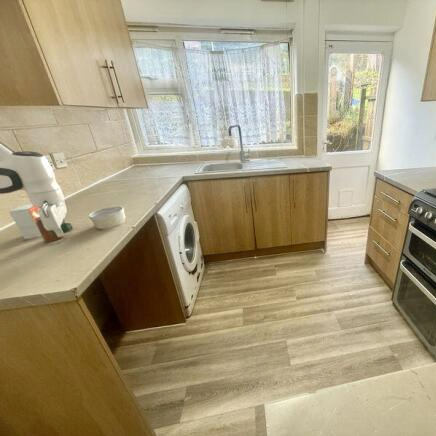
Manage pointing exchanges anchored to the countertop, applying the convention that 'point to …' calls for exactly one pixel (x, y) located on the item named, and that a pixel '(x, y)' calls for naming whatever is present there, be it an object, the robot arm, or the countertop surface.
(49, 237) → the jar
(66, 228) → the lid
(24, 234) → the small box
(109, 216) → the ramekin
